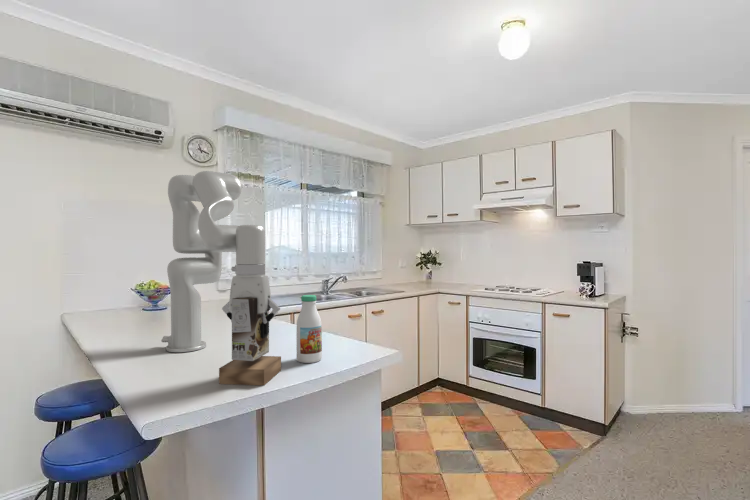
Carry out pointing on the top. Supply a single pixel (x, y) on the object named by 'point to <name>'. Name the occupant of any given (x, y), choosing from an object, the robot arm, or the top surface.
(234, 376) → the plinth
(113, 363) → the top surface
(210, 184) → the robot arm
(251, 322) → the cookie box
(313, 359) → the milk bottle
